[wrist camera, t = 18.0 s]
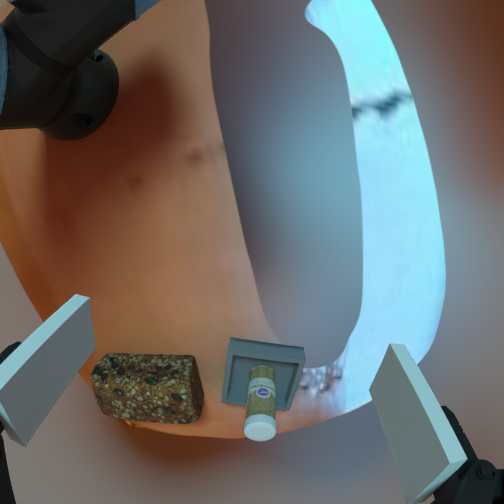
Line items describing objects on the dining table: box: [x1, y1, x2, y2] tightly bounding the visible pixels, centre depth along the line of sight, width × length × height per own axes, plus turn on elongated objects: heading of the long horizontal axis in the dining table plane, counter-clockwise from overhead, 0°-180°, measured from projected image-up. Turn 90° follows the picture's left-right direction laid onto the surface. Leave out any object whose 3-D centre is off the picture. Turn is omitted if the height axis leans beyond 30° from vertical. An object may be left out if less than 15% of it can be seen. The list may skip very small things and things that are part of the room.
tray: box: [221, 338, 306, 411], centre depth 49 cm, size 12×12×4 cm
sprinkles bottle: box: [244, 365, 277, 441], centre depth 44 cm, size 5×5×14 cm
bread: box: [91, 353, 204, 424], centre depth 48 cm, size 19×11×10 cm, turn 95°
